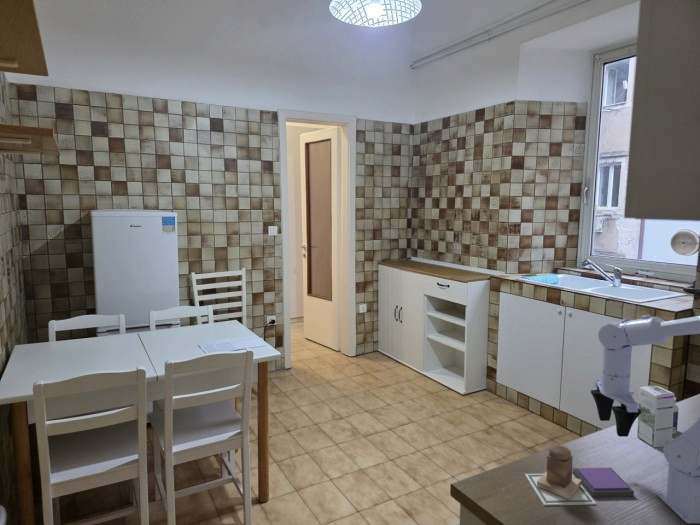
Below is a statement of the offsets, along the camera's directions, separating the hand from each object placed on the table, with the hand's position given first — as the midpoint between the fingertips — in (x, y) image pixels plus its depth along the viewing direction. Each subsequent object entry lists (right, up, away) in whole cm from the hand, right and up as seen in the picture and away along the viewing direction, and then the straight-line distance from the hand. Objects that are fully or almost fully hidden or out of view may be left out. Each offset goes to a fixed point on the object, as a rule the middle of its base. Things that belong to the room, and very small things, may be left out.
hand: (613, 427), depth 108 cm
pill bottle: (+25, -8, +19) cm, 33 cm away
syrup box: (+18, -9, +13) cm, 24 cm away
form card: (-16, -12, -6) cm, 21 cm away
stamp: (-16, -11, -6) cm, 20 cm away
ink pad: (-5, -11, -5) cm, 13 cm away
